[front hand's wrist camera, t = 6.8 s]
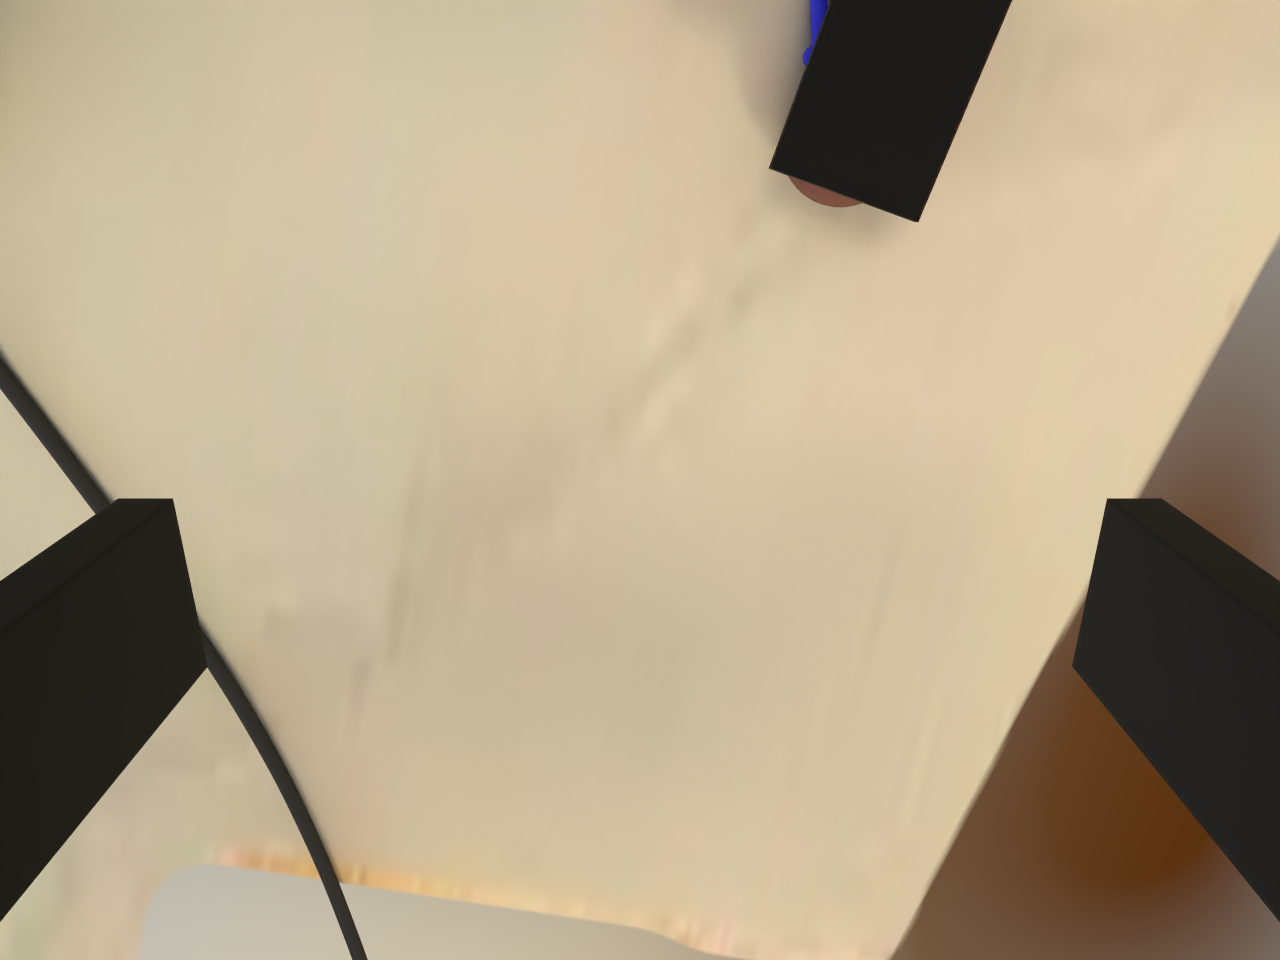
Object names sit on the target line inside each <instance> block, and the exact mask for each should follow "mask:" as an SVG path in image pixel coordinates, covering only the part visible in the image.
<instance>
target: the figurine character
mask: <svg viewBox="0 0 1280 960" xmlns="http://www.w3.org/2000/svg"><path fill="white" fill-rule="evenodd" d="M1011 2H1012V0H830V2H829V5H828V8H827V0H810V13H811V46H809V47H808V48H807V49H806V50H805V52H804V54H803V62H804V65H805V66H806V68H805V71H804V73H803V76H802V79H801V82H800V84H799V87H798V90H797V93H796V95H795V98H794V101H793V104H792V106H791V109H790V112H789V114H788V117H787V120H786V123H785V125H784V128H783V131H782V134H781V136H780V139H779V142H778V145H777V147H776V150H775V153H774V155H773V158H772V161H771V164H770V166H769V169H772V170H774V171H777V172H780V173H783V174H785V175H788V176H789V178H790V180H791V181H792V183H793V184H794V185H795V187H796V188H797V189H798V190H799V191H800V192H801V193H802V194H804V195H805V196H806V197H808V198H809V199H811V200H813V201H815V202H817V203H820V204H823V205H826V206H832V207H849V206H854V205H858V204H861V203H864V204H867V205H870V206H873V207H875V208H878V209H881V210H883V211H886V212H889V213H892V214H894V215H897V216H900V217H903V218H905V219H908V220H911V221H913V222H919V219H920V217H921V214H922V212H923V210H924V207H925V205H926V203H927V200H928V198H929V196H930V193H931V191H932V188H933V186H934V184H935V181H936V179H937V177H938V174H939V172H940V170H941V167H942V165H943V162H944V160H945V158H946V155H947V153H948V151H949V148H950V146H951V143H952V141H953V139H954V136H955V134H956V132H957V129H958V127H959V125H960V122H961V120H962V117H963V115H964V113H965V110H966V108H967V106H968V103H969V101H970V99H971V96H972V94H973V91H974V89H975V87H976V84H977V82H978V80H979V77H980V75H981V73H982V70H983V68H984V65H985V63H986V61H987V58H988V56H989V54H990V51H991V49H992V47H993V44H994V42H995V39H996V37H997V35H998V32H999V30H1000V28H1001V25H1002V23H1003V21H1004V18H1005V16H1006V13H1007V11H1008V9H1009V6H1010V4H1011Z"/></svg>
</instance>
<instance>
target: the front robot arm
mask: <svg viewBox="0 0 1280 960" xmlns="http://www.w3.org/2000/svg"><path fill="white" fill-rule="evenodd" d="M0 389H1V390H2V392H3V393H4V394H5V395H6V397H7V398H8V399H9V401H10V402H11V403H12V405H13V406H14V407H15V408H16V410H17V411H18V412H19V414H20V415H21V416H22V418H23V419H24V420H25V422H26V423H27V424H28V425H29V427H30V428H31V429H32V431H33V432H34V433H35V435H36V436H37V437H38V439H39V440H40V441H41V443H42V444H43V445H44V446H45V448H46V449H47V450H48V452H49V453H50V454H51V456H52V457H53V458H54V460H55V461H56V462H57V464H58V465H59V466H60V468H61V469H62V470H63V472H64V473H65V474H66V476H67V477H68V478H69V480H70V481H71V482H72V484H73V485H74V486H75V487H76V489H77V490H78V491H79V493H80V494H81V495H82V497H83V498H84V499H85V501H86V502H87V503H88V505H89V506H90V507H91V509H92V510H93V511H94V513H95V514H96V515H94V516H93V517H91V518H90V519H88V520H87V521H86V522H84V523H83V524H81V525H80V526H78V527H77V528H76V529H74V530H73V531H71V532H70V533H68V534H67V535H66V536H64V537H63V538H61V539H60V540H58V541H57V542H56V543H54V544H53V545H51V546H50V547H48V548H47V549H45V550H44V551H43V552H41V553H40V554H38V555H37V556H35V557H34V558H33V559H31V560H30V561H28V562H27V563H25V564H24V565H23V566H21V567H20V568H18V569H17V570H15V571H14V572H13V573H11V574H10V575H8V576H7V577H5V578H4V579H3V580H1V581H0V922H1V920H2V919H3V918H4V917H5V915H6V914H7V913H8V912H9V910H10V909H11V908H12V907H13V906H14V904H15V903H16V902H17V901H18V899H19V898H20V897H21V896H22V894H23V893H24V892H25V891H26V890H27V888H28V887H29V886H30V885H31V883H32V882H33V881H34V880H35V878H36V877H37V876H38V875H39V874H40V872H41V871H42V870H43V869H44V867H45V866H46V865H47V864H48V862H49V861H50V860H51V859H52V858H53V856H54V855H55V854H56V853H57V851H58V850H59V849H60V848H61V846H62V845H63V844H64V843H65V842H66V840H67V839H68V838H69V837H70V835H71V834H72V833H73V832H74V830H75V829H76V828H77V827H78V826H79V824H80V823H81V822H82V821H83V819H84V818H85V817H86V816H87V814H88V813H89V812H90V811H91V810H92V808H93V807H94V806H95V805H96V803H97V802H98V801H99V800H100V798H101V797H102V796H103V795H104V794H105V792H106V791H107V790H108V789H109V787H110V786H111V785H112V784H113V782H114V781H115V780H116V779H117V777H118V776H119V775H120V774H121V773H122V771H123V770H124V769H125V768H126V766H127V765H128V764H129V763H130V761H131V760H132V759H133V758H134V757H135V755H136V754H137V753H138V752H139V750H140V749H141V748H142V747H143V745H144V744H145V743H146V742H147V741H148V739H149V738H150V737H151V736H152V734H153V733H154V732H155V731H156V729H157V728H158V727H159V726H160V725H161V723H162V722H163V721H164V720H165V718H166V717H167V716H168V715H169V713H170V712H171V711H172V710H173V709H174V707H175V706H176V705H177V704H178V702H179V701H180V700H181V699H182V697H183V696H184V695H185V694H186V693H187V691H188V690H189V689H190V688H191V686H192V685H193V684H194V683H195V681H196V680H197V679H198V678H199V677H200V675H201V674H202V673H203V672H204V670H205V669H206V668H208V669H209V671H210V672H211V674H212V675H213V677H214V678H215V680H216V681H217V683H218V684H219V686H220V688H221V689H222V691H223V692H224V694H225V696H226V697H227V699H228V700H229V702H230V704H231V705H232V707H233V708H234V710H235V712H236V713H237V715H238V717H239V718H240V720H241V722H242V723H243V725H244V727H245V729H246V730H247V732H248V734H249V735H250V737H251V739H252V741H253V742H254V744H255V746H256V748H257V749H258V751H259V753H260V755H261V756H262V758H263V760H264V762H265V764H266V765H267V767H268V769H269V771H270V773H271V775H272V776H273V778H274V780H275V782H276V784H277V786H278V788H279V790H280V792H281V794H282V796H283V798H284V800H285V802H286V804H287V806H288V808H289V810H290V812H291V814H292V816H293V818H294V820H295V822H296V824H297V826H298V828H299V831H300V833H301V835H302V837H303V839H304V841H305V843H306V846H307V848H308V850H309V852H310V854H311V857H312V859H313V861H314V863H315V866H316V868H317V870H318V873H319V875H320V877H321V880H322V882H323V885H324V887H325V889H326V892H327V894H328V897H329V899H330V902H331V904H332V907H333V910H334V912H335V915H336V917H337V920H338V922H339V925H340V928H341V930H342V933H343V935H344V938H345V941H346V943H347V946H348V949H349V951H350V954H351V957H352V960H367V957H366V954H365V951H364V948H363V945H362V943H361V940H360V937H359V935H358V932H357V929H356V927H355V924H354V921H353V919H352V916H351V913H350V911H349V908H348V905H347V903H346V900H345V897H344V895H343V892H342V890H341V887H340V885H339V882H338V879H337V877H336V875H335V872H334V870H333V867H332V865H331V862H330V860H329V858H328V855H327V853H326V851H325V849H324V846H323V844H322V842H321V840H320V837H319V835H318V833H317V831H316V829H315V826H314V824H313V822H312V820H311V818H310V816H309V813H308V811H307V809H306V807H305V805H304V803H303V801H302V799H301V797H300V795H299V793H298V791H297V789H296V787H295V785H294V783H293V781H292V779H291V777H290V775H289V773H288V771H287V769H286V767H285V765H284V763H283V761H282V760H281V758H280V756H279V754H278V752H277V750H276V749H275V747H274V745H273V743H272V741H271V740H270V738H269V736H268V734H267V733H266V731H265V729H264V727H263V726H262V724H261V722H260V720H259V719H258V717H257V715H256V713H255V712H254V710H253V708H252V707H251V705H250V703H249V702H248V700H247V698H246V697H245V695H244V693H243V692H242V690H241V688H240V687H239V685H238V684H237V682H236V680H235V679H234V677H233V676H232V674H231V672H230V671H229V669H228V668H227V666H226V665H225V663H224V662H223V660H222V658H221V657H220V655H219V654H218V652H217V651H216V649H215V648H214V646H213V645H212V643H211V642H210V640H209V639H208V637H207V636H206V635H205V633H204V632H203V630H202V629H201V627H200V626H199V622H198V617H197V612H196V607H195V603H194V598H193V593H192V588H191V583H190V579H189V574H188V569H187V564H186V559H185V555H184V550H183V545H182V540H181V535H180V531H179V526H178V521H177V516H176V511H175V507H174V502H173V499H117V500H116V501H114V502H113V503H111V504H110V503H109V502H108V500H107V499H106V498H105V496H104V495H103V493H102V492H101V491H100V489H99V488H98V487H97V485H96V484H95V483H94V481H93V480H92V479H91V477H90V476H89V475H88V473H87V472H86V471H85V469H84V468H83V467H82V465H81V464H80V463H79V461H78V460H77V459H76V457H75V456H74V455H73V453H72V452H71V451H70V449H69V448H68V447H67V445H66V444H65V443H64V441H63V440H62V439H61V437H60V436H59V435H58V433H57V432H56V431H55V429H54V428H53V427H52V425H51V424H50V423H49V421H48V420H47V419H46V417H45V416H44V415H43V413H42V412H41V411H40V409H39V408H38V407H37V405H36V404H35V403H34V401H33V400H32V399H31V397H30V396H29V395H28V393H27V392H26V391H25V390H24V388H23V387H22V386H21V384H20V383H19V382H18V380H17V379H16V378H15V376H14V375H13V374H12V372H11V371H10V370H9V368H8V367H7V366H6V365H5V363H4V362H3V361H2V359H1V358H0ZM1072 667H1073V668H1074V669H1075V670H1076V672H1077V673H1078V674H1079V675H1080V677H1081V678H1082V679H1083V680H1084V681H1085V683H1086V684H1087V685H1088V686H1089V687H1090V689H1091V690H1092V691H1093V693H1094V694H1095V695H1096V696H1097V697H1098V699H1099V700H1100V701H1101V702H1102V704H1103V705H1104V706H1105V707H1106V709H1107V710H1108V711H1109V712H1110V713H1111V715H1112V716H1113V717H1114V718H1115V720H1116V721H1117V722H1118V723H1119V725H1120V726H1121V727H1122V728H1123V729H1124V731H1125V732H1126V733H1127V734H1128V736H1129V737H1130V738H1131V739H1132V740H1133V742H1134V743H1135V744H1136V745H1137V747H1138V748H1139V749H1140V750H1141V752H1142V753H1143V754H1144V755H1145V757H1146V758H1147V759H1148V760H1149V761H1150V763H1151V764H1152V765H1153V766H1154V768H1155V769H1156V770H1157V771H1158V773H1159V774H1160V775H1161V776H1162V777H1163V779H1164V780H1165V781H1166V782H1167V784H1168V785H1169V786H1170V787H1171V789H1172V790H1173V791H1174V792H1175V794H1176V795H1177V796H1178V797H1179V798H1180V800H1181V801H1182V802H1183V803H1184V805H1185V806H1186V807H1187V808H1188V810H1189V811H1190V812H1191V813H1192V814H1193V816H1194V817H1195V818H1196V819H1197V821H1198V822H1199V823H1200V824H1201V826H1202V827H1203V828H1204V829H1205V830H1206V832H1207V833H1208V834H1209V835H1210V837H1211V838H1212V839H1213V840H1214V842H1215V843H1216V844H1217V845H1218V846H1219V848H1220V849H1221V850H1222V851H1223V853H1224V854H1225V855H1226V856H1227V857H1228V859H1229V860H1230V861H1231V862H1232V864H1233V865H1234V866H1235V867H1236V869H1237V870H1238V871H1239V872H1240V874H1241V875H1242V876H1243V877H1244V878H1245V880H1246V881H1247V882H1248V883H1249V885H1250V886H1251V887H1252V888H1253V890H1254V891H1255V892H1256V893H1257V894H1258V896H1259V897H1260V898H1261V899H1262V901H1263V902H1264V903H1265V904H1266V906H1267V907H1268V908H1269V909H1270V910H1271V912H1272V913H1273V914H1274V915H1275V917H1276V918H1277V919H1278V920H1279V922H1280V581H1279V580H1277V579H1276V578H1275V577H1273V576H1272V575H1270V574H1269V573H1267V572H1266V571H1265V570H1263V569H1262V568H1260V567H1259V566H1257V565H1256V564H1255V563H1253V562H1252V561H1250V560H1249V559H1247V558H1246V557H1245V556H1243V555H1242V554H1240V553H1239V552H1237V551H1236V550H1234V549H1233V548H1232V547H1230V546H1229V545H1227V544H1226V543H1224V542H1223V541H1222V540H1220V539H1219V538H1217V537H1216V536H1214V535H1213V534H1212V533H1210V532H1209V531H1207V530H1206V529H1204V528H1203V527H1202V526H1200V525H1199V524H1197V523H1196V522H1194V521H1193V520H1192V519H1190V518H1189V517H1187V516H1186V515H1184V514H1183V513H1182V512H1180V511H1179V510H1177V509H1176V508H1174V507H1173V506H1172V505H1170V504H1169V503H1167V502H1166V501H1164V500H1163V499H1107V502H1106V507H1105V511H1104V516H1103V521H1102V526H1101V531H1100V535H1099V540H1098V545H1097V550H1096V555H1095V559H1094V564H1093V569H1092V574H1091V579H1090V583H1089V588H1088V593H1087V598H1086V603H1085V607H1084V612H1083V617H1082V622H1081V627H1080V631H1079V636H1078V641H1077V646H1076V650H1075V655H1074V660H1073V665H1072Z"/></svg>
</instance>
